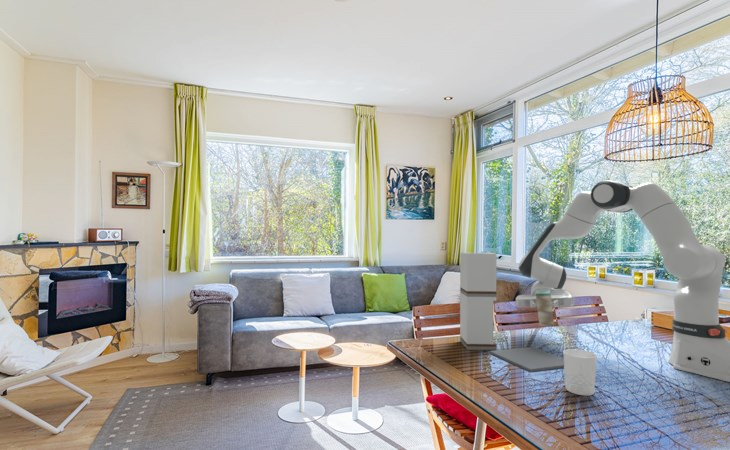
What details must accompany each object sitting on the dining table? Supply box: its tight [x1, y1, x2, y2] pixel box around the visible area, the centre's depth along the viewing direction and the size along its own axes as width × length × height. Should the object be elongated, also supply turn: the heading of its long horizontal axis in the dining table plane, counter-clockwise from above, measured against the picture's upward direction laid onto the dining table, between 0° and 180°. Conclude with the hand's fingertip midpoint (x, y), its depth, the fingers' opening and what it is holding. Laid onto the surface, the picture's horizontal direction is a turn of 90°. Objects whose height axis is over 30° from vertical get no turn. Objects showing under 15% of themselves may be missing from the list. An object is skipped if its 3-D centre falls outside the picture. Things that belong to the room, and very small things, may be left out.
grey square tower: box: [459, 251, 498, 351], centre depth 150 cm, size 11×11×35 cm
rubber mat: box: [489, 346, 564, 373], centre depth 133 cm, size 20×18×1 cm
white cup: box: [562, 348, 597, 396], centre depth 106 cm, size 8×8×10 cm
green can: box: [536, 290, 555, 327], centre depth 148 cm, size 5×5×12 cm
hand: (544, 305), depth 147 cm, fingers closed on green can, 5 cm apart
